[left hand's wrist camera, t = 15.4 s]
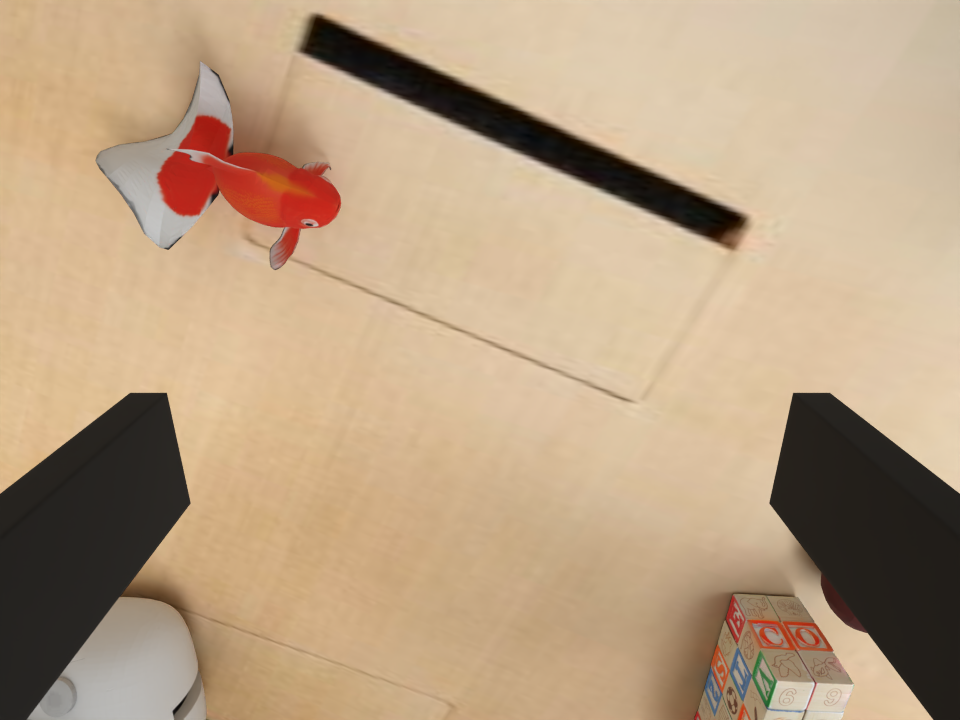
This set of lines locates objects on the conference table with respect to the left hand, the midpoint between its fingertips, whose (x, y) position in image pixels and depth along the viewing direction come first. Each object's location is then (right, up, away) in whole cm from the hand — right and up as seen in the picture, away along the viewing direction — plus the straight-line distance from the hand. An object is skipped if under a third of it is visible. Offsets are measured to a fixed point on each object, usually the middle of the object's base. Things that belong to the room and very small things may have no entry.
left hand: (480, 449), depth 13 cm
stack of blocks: (+25, -29, +45) cm, 59 cm away
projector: (-36, -25, +44) cm, 62 cm away
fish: (-16, +14, +28) cm, 35 cm away
